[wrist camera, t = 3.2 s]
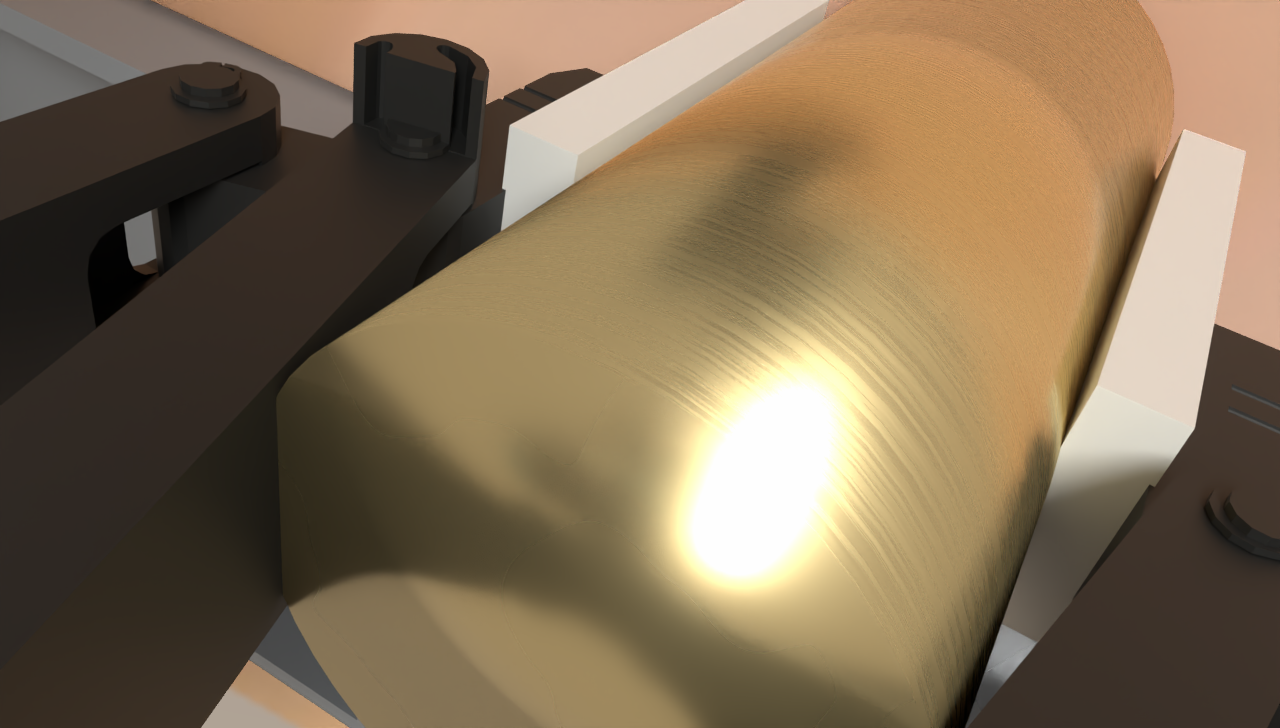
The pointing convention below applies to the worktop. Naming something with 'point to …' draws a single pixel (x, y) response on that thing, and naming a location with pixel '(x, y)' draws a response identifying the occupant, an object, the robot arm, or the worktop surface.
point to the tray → (100, 57)
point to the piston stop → (738, 394)
